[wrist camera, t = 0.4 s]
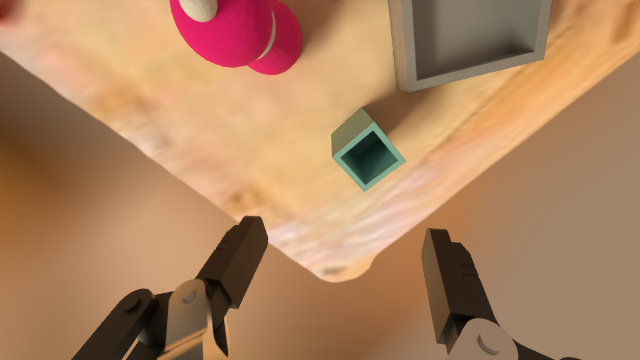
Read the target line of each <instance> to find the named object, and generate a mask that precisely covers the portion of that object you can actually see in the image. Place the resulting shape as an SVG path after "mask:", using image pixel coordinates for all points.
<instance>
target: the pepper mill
mask: <svg viewBox="0 0 640 360" xmlns="http://www.w3.org/2000/svg"><path fill="white" fill-rule="evenodd" d="M170 6H171V12H172V15H173V18H174V21H175V24H176V26H177V28H178V30H179V32H180V34H181V35H182V37H183V38H184V40H185V41H186V43H187V44H188V45H189V46H190V47H191V48H192V49H193V50H194V51H195V52H196V53H197V54H199V55H200V56H201V57H203V58H204V59H206V60H207V61H210V62H212V63H214V64H217V65H220V66H223V67H231V68H235V67H240V66H245V65H248V66H249V67H250V68H251V69H253V70H255V71H256V72H259V73H262V74H266V75H277V74H280V73H283V72H285V71H286V70H288V69H289V68H290V67H291V66H292V65H293V64H294V63H295V61H296V60H297V58H298V56H299V53H300V50H301V31H300V27H299V24H298V21H297V19H296V17H295V16H294V14H293V13H292V12H291V10H290V9H289V8H288V7H287V6H286V5H284V4H283V3H282V2H280V1H279V0H170Z"/></svg>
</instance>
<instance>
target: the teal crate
mask: <svg viewBox="0 0 640 360" xmlns="http://www.w3.org/2000/svg"><path fill="white" fill-rule="evenodd" d="M331 138H332V158H333V159H334V160H335V161H336V162H337V163H338V164H339V165H340V166H341V167H342V168H343V170H344V171H345V172H346V173H347V174H348V175H349V176H350V177H351V178H352V179H353V180H354V181H355V182H356V183H357V184H358V185H359V187H360V188H361V189H362V190H363V191H364V192H365V191H367V190H368V189H369V188H371V187H372V186H373V185H375V184H376V183H377V182H379V181H380V180H381V179H383V178H384V177H385V176H387V175H388V174H390V173H391V172H392V171H394V170H395V169H396V168H398V167H399V166H400V165H402V164H403V163H404V162H406V160H405V159H404V157H403V156H402V155H401V154H400V153H399V151H398V150H397V149H396V148H395V146H394V145H393V144H392V143H391V142H390V140H389V139H388V138H387V137H386V135H385V134H384V133H383V132H382V130H381V129H380V128H379V127H378V126H377V124H376V123H375V122H374V121H373V120H372V119H371V117H370V116H369V115H368V114H367V113H366V112H365V111H364V109H363V108H361V109H359V110H358V111H357V112H356V113H355V114H354V115H353V116H352V117H350V118H349V119H348V120H347V121H346V122H345V123H344V124H343V125H341V126H340V127H339V128H338V129H337V130H336V131H335V132H333V133H332V134H331Z"/></svg>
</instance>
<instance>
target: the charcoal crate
mask: <svg viewBox="0 0 640 360" xmlns="http://www.w3.org/2000/svg"><path fill="white" fill-rule="evenodd" d="M388 5H389V15H390V25H391V35H392V45H393V55H394V65H395V76H396V86H397V90H400V91H404V92H408V93H409V92H413V91H417V90H421V89H425V88H429V87H433V86H438V85H442V84H446V83H450V82H454V81H458V80H462V79H466V78H470V77H474V76H478V75H482V74H486V73H491V72H495V71H499V70H503V69H507V68H511V67H515V66H519V65H523V64H527V63H531V62H535V61H539V60H544V55H545V48H546V41H547V34H548V27H549V20H550V12H551V5H552V0H388Z"/></svg>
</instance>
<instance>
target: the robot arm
mask: <svg viewBox="0 0 640 360" xmlns="http://www.w3.org/2000/svg"><path fill="white" fill-rule="evenodd" d="M267 244H268V236H267V233H266V230H265V227H264V224H263V221H262V218H261V217H260V216H244V217H243V219H242V220H241V222H240V223H239V225H235V226H233V227H232V228H231V229H230V230H229V231H227V232H226V234H225V235H224V237H223V238H222V240H221V242H220V243H219V244H218V246H217V247H216V250H214V252H213V253H212V254H211V256H210V257H209V259H208V260H207V262H206V263H205V265H204V266H203V268H202V269H201V270H200V272H199V273H198V275H197V276H196V278H195V279H192V280H189V281H186V282H184V283H183V284H181V285H180V286H179V287H178V288H177V289H176V290H175V291H172V292H168V293H162V294H157V295H154V294H153V293H152V292H151V291H150V290H148V289H138V290H136V291H133V292H131V293H130V294H128V295H127V296H125V297H124V298H123V299H122V300H121V301H120V302H119V303H118V304H117V305H116V307H115V308H114V309H113V310H112V311H111V313H110V314H109V315H108V316H107V317H106V319H105V320H104V321H103V322H102V324H101V325H100V326H99V327H98V328H97V329H96V331H95V332H94V333H93V334H92V336H91V337H90V338H89V339H88V340H87V341H86V343H85V344H84V345H83V346H82V348H81V349H80V350H79V351H78V352H77V354H76V355H75V356H74V357H73V358H72V360H122V358H123V357H124V355H125V354H126V352H127V351H128V350H129V348H130V347H131V345H132V344H133V342H134V341H135V339H136V338H137V339H138V340H139V341H138V343H137V344H136V346H135V347H134V349H133V350H132V352H131V353H130V355H129V356H128V358H127V359H126V360H233V358H232V351H231V344H230V336H229V329H228V322H227V317H226V313H227V311H228V309H229V308H233V309H238V308H239V306H240V304H241V302H242V300H243V297H244V295H245V293H246V291H247V289H248V287H249V284H250V282H251V280H252V278H253V276H254V274H255V272H256V269H257V267H258V265H259V263H260V261H261V259H262V257H263V254H264V252H265V250H266V248H267ZM422 265H423V271H424V276H425V282H426V287H427V293H428V298H429V303H430V309H431V314H432V320H433V325H434V331H435V336H436V342H437V343H439V344H445V345H446V348H447V353H448V357H447V358H446V360H554V359H551V358H549V357H547V356H545V355H542V354H540V353H538V352H536V351H533V350H531V349H529V348H527V347H525V346H523V345H521V344H519V343H518V342H516V341H515V340H514V339H512V338H511V337H510V336H509V335H508V334H507V332H506V331H504V330H503V329H502V328H501V327H500V325H499V324H498V322H497V321H496V319H495V317H494V314H493V311H492V309H491V306H490V304H489V301H488V299H487V296H486V293H485V291H484V288H483V286H482V283H481V281H480V278H479V277H478V273H477V270H476V268H475V266H474V263H473V260H472V258H471V255H470V253H469V252H468V251H467V250H466V249H465V247H464V246H463V245H462V244H461V243H456V242H451V240H450V237H449V234H448V231H447V230H446V229H432V228H427V230H426V234H425V239H424V243H423V248H422ZM560 360H580V359H577V358H571V357H565V358H562V359H560Z"/></svg>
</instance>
